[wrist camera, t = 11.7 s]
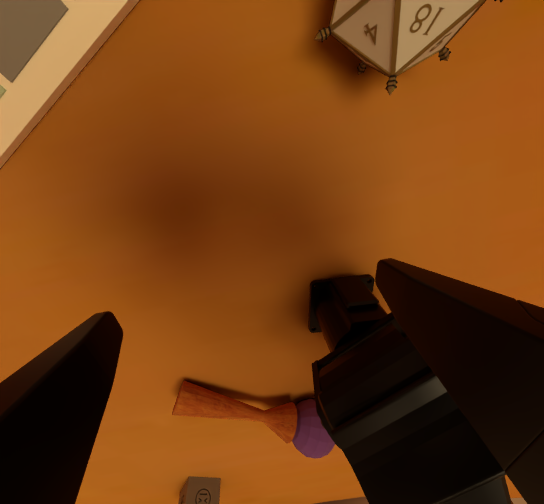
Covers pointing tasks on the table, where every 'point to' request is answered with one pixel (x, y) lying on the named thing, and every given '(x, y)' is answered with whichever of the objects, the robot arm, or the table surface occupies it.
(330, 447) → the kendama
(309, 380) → the table surface
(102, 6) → the board
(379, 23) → the game die
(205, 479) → the grey symbol cube
